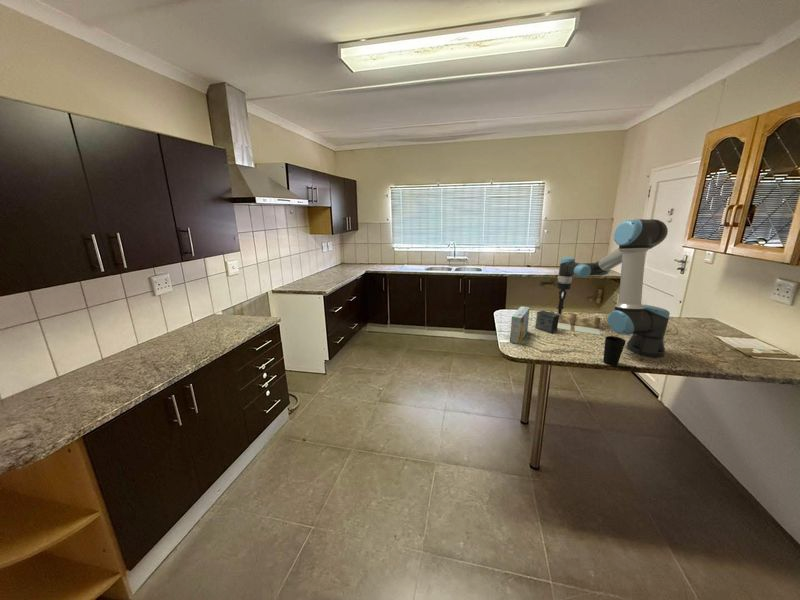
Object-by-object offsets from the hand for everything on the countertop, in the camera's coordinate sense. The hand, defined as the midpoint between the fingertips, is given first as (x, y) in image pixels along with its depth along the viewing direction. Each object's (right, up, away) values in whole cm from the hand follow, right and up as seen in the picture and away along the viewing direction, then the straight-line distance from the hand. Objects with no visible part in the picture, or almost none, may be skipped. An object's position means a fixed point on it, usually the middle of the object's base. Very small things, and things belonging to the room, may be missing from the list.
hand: (558, 318), depth 198 cm
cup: (-4, -18, -55) cm, 58 cm away
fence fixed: (+10, -5, -10) cm, 15 cm away
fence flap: (-2, -2, -4) cm, 5 cm away
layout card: (+3, -5, -10) cm, 12 cm away
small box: (-15, -6, -15) cm, 22 cm away
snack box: (-36, -9, -25) cm, 45 cm away
